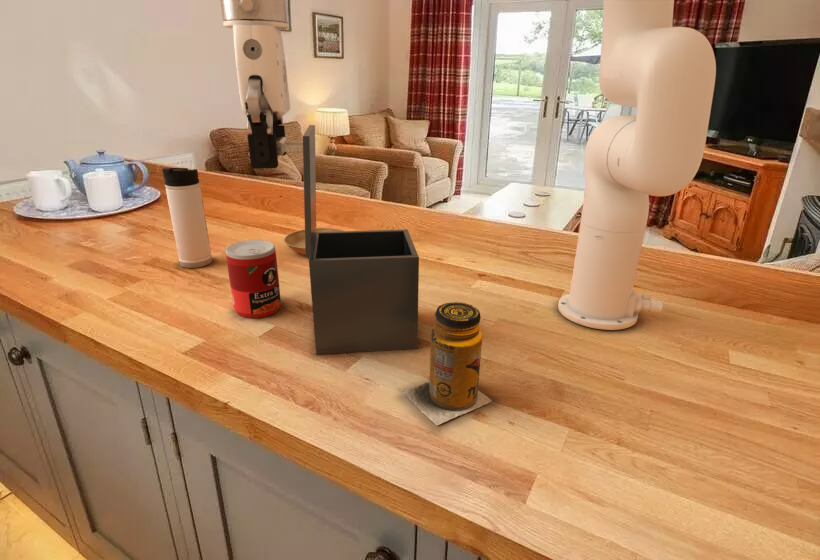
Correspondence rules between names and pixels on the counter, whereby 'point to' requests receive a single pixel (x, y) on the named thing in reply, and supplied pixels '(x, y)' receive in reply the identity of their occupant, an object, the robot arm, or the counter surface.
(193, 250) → the travel mug
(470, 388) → the condiment
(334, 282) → the bin
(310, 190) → the lid
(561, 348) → the counter surface
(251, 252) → the canned food
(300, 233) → the plant saucer
